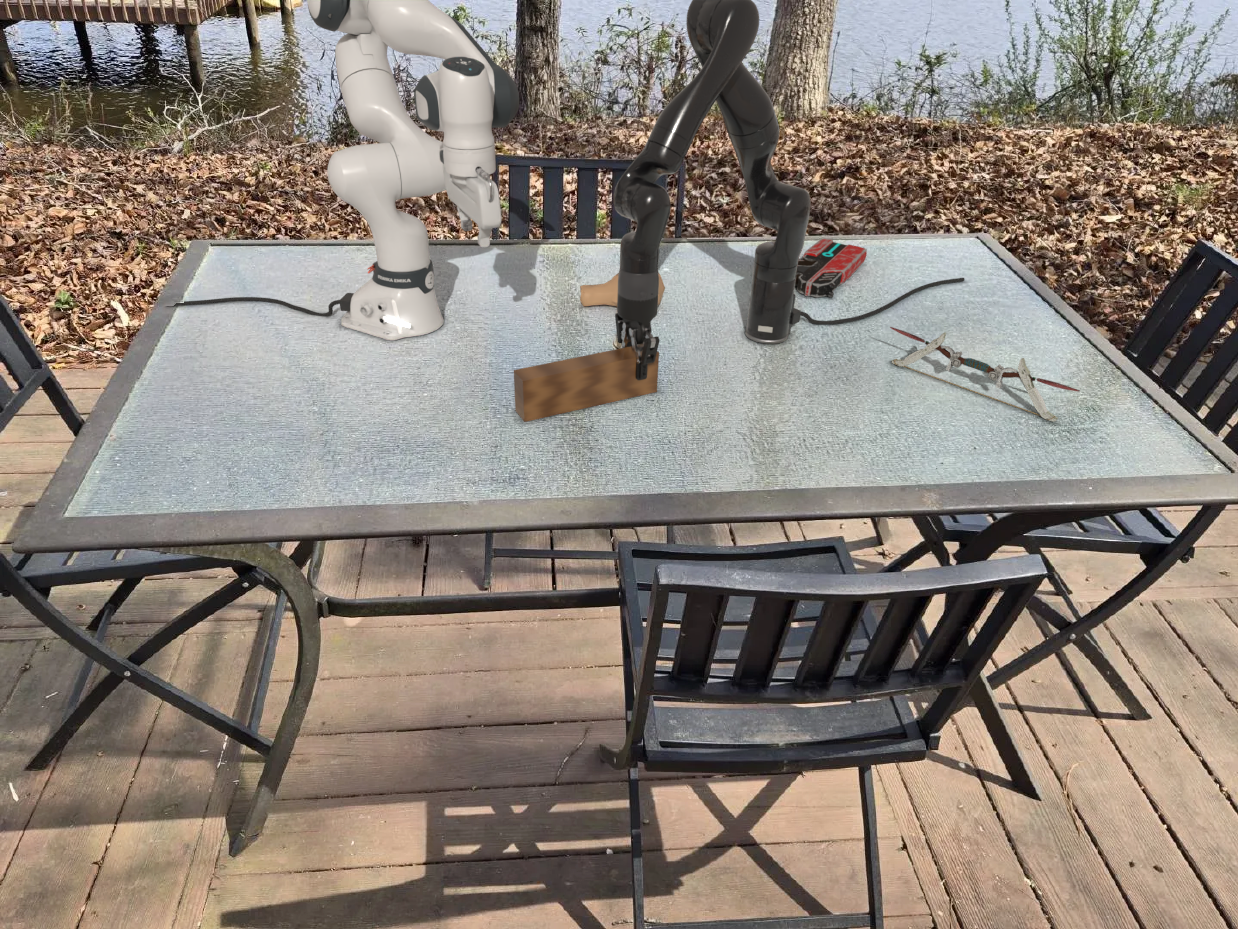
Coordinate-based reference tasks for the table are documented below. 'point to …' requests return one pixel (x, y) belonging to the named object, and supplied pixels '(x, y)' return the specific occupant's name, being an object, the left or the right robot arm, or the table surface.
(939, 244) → the table surface
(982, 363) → the bow
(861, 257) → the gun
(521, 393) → the bar
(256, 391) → the table surface
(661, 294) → the squash
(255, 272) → the table surface
